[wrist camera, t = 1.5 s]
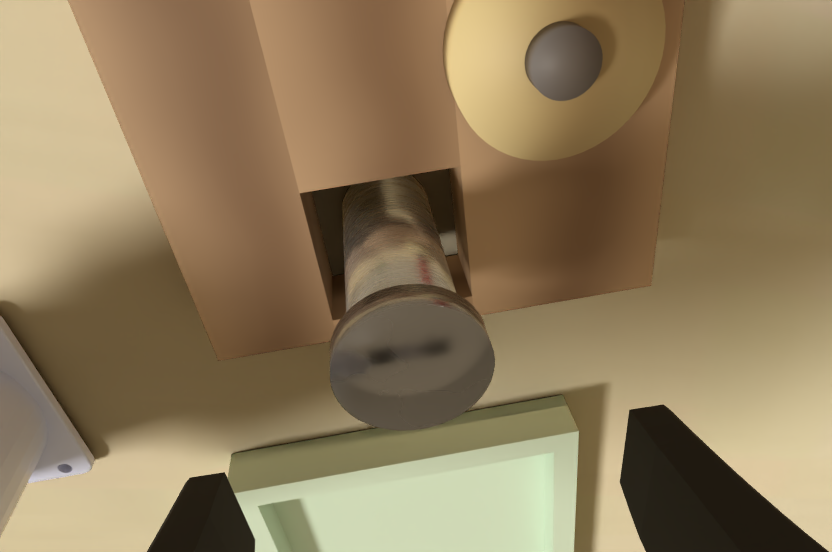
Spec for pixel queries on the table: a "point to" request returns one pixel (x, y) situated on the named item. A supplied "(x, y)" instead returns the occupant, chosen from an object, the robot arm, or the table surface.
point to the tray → (420, 486)
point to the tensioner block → (392, 141)
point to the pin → (403, 316)
